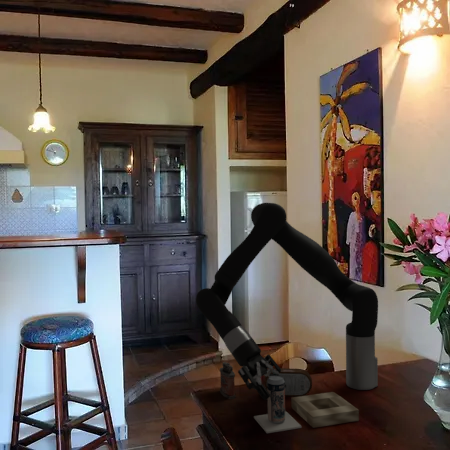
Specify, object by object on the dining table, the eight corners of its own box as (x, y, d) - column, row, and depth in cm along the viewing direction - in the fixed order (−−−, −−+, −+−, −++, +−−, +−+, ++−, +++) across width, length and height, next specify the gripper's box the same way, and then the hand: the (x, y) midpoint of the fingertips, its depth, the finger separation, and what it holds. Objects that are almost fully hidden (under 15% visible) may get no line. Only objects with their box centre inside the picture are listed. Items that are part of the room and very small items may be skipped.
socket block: (333, 401, 149) (333, 391, 149) (358, 420, 136) (358, 409, 136) (291, 407, 145) (291, 397, 145) (313, 427, 132) (313, 416, 132)
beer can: (273, 426, 132) (273, 382, 132) (264, 419, 137) (263, 376, 136) (288, 422, 135) (288, 379, 134) (278, 415, 139) (278, 373, 138)
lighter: (217, 390, 159) (217, 360, 159) (227, 389, 161) (226, 359, 160) (227, 399, 152) (227, 368, 152) (237, 397, 153) (237, 366, 153)
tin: (312, 394, 156) (311, 368, 155) (312, 398, 152) (312, 371, 152) (264, 393, 157) (264, 367, 157) (264, 396, 154) (264, 370, 154)
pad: (286, 413, 142) (286, 411, 142) (301, 427, 132) (301, 426, 132) (253, 417, 139) (253, 416, 139) (266, 433, 129) (266, 431, 129)
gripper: (234, 343, 134) (270, 394, 128) (262, 332, 146) (297, 378, 139) (219, 359, 138) (253, 409, 131) (248, 347, 149) (281, 392, 142)
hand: (276, 393), depth 135 cm, fingers open, 8 cm apart
